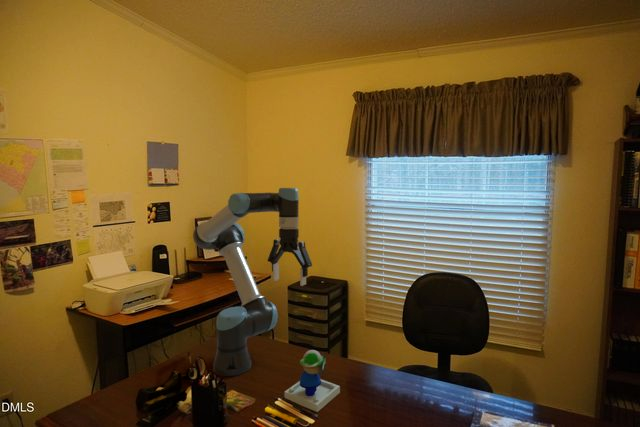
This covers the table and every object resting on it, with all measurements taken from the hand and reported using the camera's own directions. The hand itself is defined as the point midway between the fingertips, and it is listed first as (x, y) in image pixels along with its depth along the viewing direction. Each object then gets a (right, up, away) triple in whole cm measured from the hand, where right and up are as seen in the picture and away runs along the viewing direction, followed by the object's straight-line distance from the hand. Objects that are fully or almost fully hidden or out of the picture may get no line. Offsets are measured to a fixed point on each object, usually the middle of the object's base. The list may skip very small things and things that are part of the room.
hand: (289, 282), depth 141 cm
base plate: (+9, -38, -12) cm, 41 cm away
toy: (+9, -37, -13) cm, 40 cm away
